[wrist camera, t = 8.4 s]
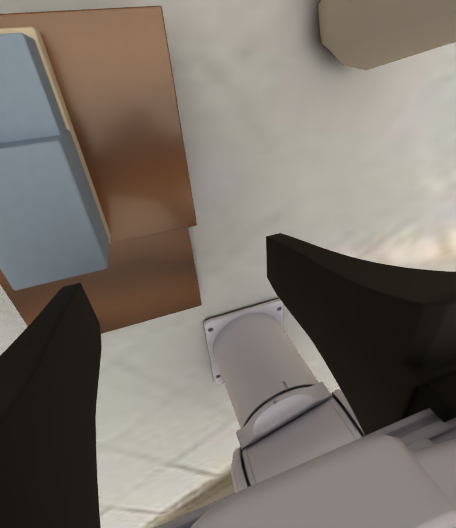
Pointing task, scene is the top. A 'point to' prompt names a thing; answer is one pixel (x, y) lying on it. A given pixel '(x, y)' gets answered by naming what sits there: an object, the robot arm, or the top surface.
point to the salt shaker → (384, 29)
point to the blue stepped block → (42, 174)
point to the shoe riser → (123, 160)
